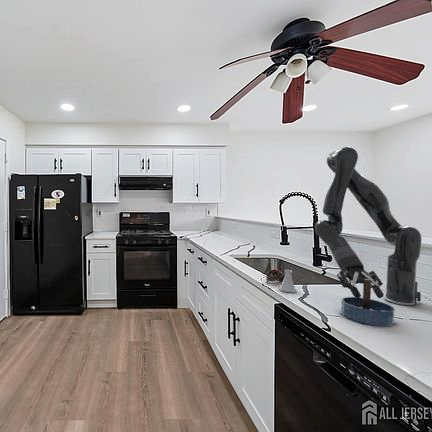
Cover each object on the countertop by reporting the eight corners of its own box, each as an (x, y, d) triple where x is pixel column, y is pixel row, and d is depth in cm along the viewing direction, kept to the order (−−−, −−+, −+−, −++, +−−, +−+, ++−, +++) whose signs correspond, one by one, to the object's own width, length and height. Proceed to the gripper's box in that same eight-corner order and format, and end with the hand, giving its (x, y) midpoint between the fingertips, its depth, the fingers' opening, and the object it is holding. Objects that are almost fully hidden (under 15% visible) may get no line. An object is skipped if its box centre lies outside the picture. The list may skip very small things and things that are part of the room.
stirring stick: (366, 314, 106) (368, 277, 106) (376, 319, 102) (378, 281, 101) (355, 314, 106) (356, 277, 105) (364, 319, 102) (366, 281, 101)
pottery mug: (290, 287, 144) (284, 273, 143) (272, 293, 147) (265, 280, 145) (284, 275, 155) (278, 263, 154) (267, 281, 158) (261, 269, 157)
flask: (295, 294, 131) (296, 272, 131) (278, 291, 135) (279, 270, 135) (296, 290, 138) (297, 269, 137) (280, 287, 141) (281, 267, 141)
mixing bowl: (368, 310, 112) (369, 296, 112) (405, 327, 97) (406, 311, 97) (331, 310, 111) (332, 296, 111) (363, 327, 96) (364, 311, 96)
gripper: (335, 254, 110) (357, 292, 99) (370, 254, 111) (395, 292, 100) (325, 265, 116) (345, 302, 105) (358, 265, 116) (381, 301, 106)
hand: (370, 297), depth 102 cm, fingers open, 8 cm apart
